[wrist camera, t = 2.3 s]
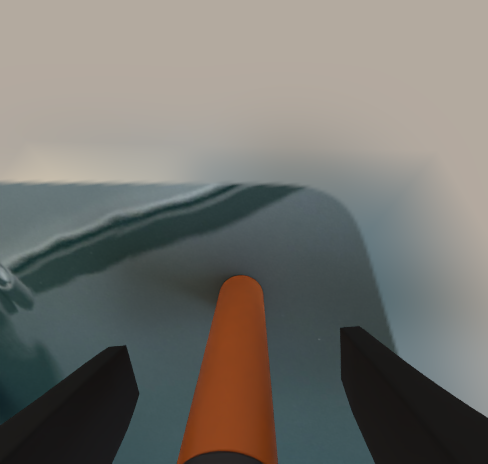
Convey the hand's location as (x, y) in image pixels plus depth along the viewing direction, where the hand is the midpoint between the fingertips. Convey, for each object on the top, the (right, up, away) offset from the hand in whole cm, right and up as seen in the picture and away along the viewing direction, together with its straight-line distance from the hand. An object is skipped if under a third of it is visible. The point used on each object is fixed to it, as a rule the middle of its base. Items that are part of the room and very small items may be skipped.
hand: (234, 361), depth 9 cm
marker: (0, +1, +4) cm, 5 cm away
